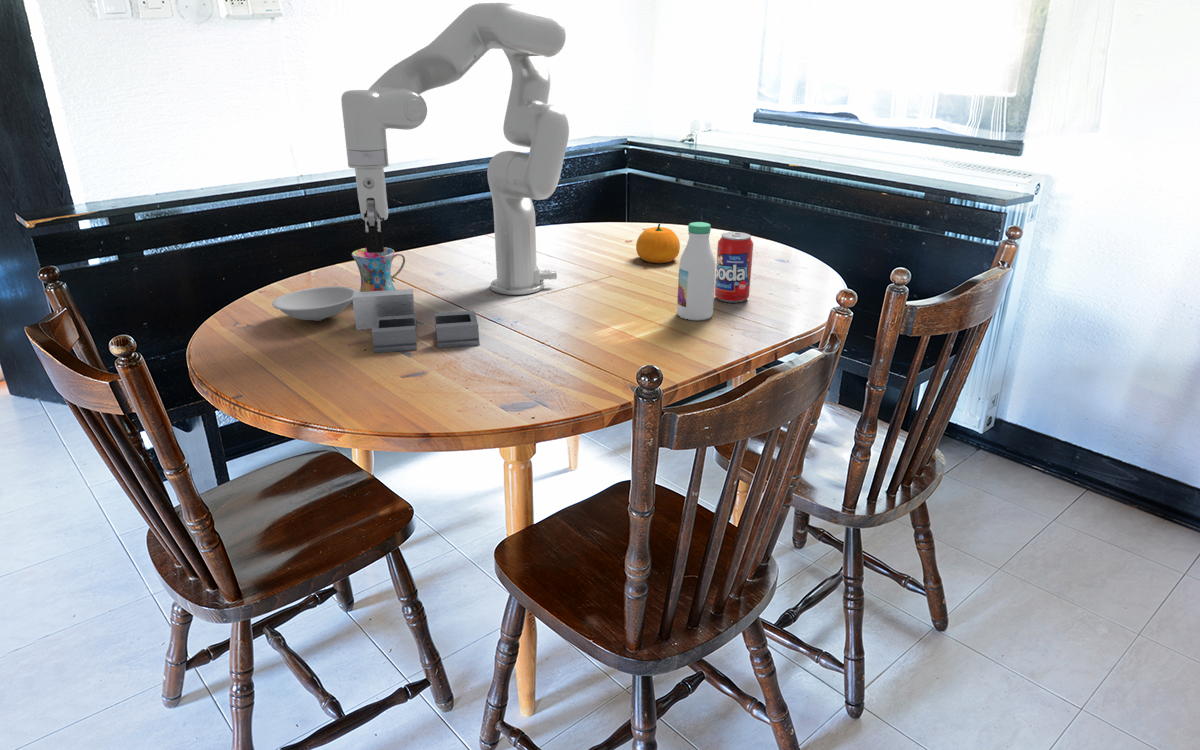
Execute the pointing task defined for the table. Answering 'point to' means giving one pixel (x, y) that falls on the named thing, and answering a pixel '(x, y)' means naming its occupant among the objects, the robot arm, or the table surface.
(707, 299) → the milk bottle
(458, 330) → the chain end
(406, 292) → the gray trapezoid plate
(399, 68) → the robot arm
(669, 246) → the fruit
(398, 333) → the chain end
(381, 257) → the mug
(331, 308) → the dish
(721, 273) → the soda can
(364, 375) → the table surface
